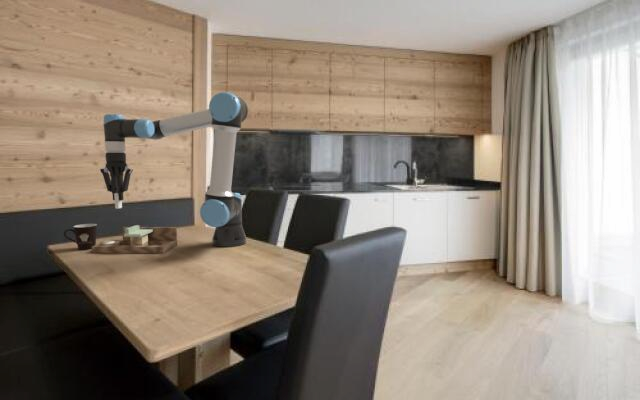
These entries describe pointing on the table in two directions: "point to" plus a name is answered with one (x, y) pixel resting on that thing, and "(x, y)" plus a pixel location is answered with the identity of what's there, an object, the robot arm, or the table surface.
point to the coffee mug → (84, 236)
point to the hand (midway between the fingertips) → (118, 208)
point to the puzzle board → (157, 243)
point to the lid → (136, 231)
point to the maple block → (139, 240)
